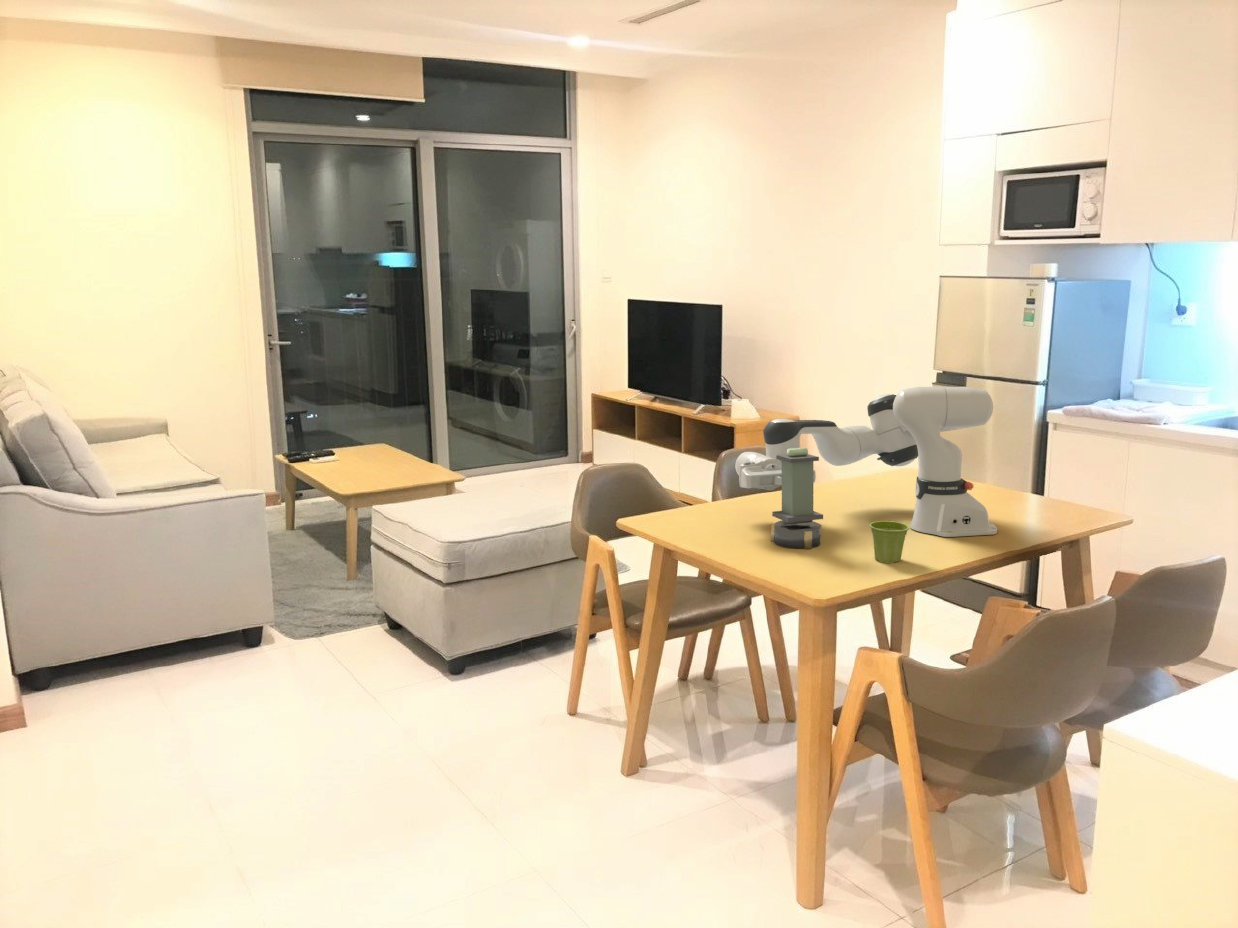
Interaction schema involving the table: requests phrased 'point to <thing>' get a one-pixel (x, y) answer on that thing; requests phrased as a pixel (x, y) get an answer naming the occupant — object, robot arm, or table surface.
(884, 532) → the plant pot
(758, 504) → the table surface
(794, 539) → the base
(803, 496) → the green square column
